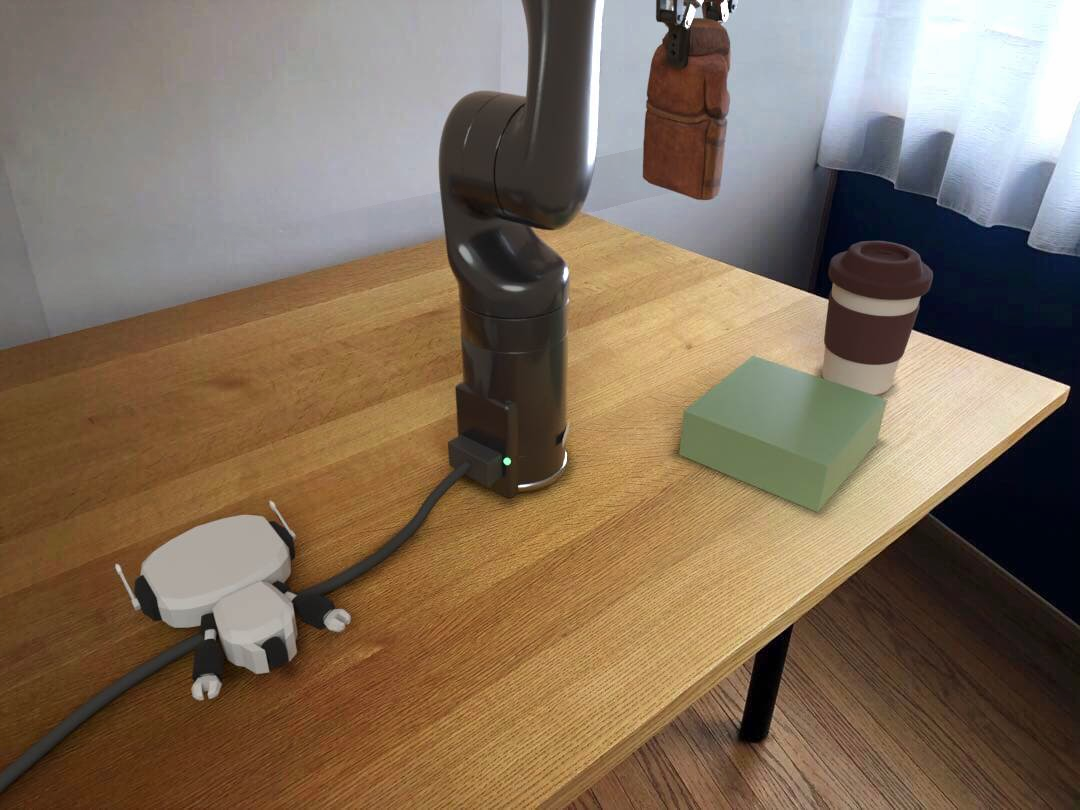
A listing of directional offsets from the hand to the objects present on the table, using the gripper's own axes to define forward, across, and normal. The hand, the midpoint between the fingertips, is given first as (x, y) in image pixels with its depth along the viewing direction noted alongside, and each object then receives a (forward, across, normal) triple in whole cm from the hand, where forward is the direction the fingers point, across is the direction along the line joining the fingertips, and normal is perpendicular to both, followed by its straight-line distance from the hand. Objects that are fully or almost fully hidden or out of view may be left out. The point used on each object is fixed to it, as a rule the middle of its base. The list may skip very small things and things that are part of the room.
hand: (693, 61), depth 92 cm
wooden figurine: (+14, 0, 0) cm, 14 cm away
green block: (+30, +18, +24) cm, 43 cm away
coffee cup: (+30, +1, +24) cm, 39 cm away
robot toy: (+31, +64, +3) cm, 72 cm away
